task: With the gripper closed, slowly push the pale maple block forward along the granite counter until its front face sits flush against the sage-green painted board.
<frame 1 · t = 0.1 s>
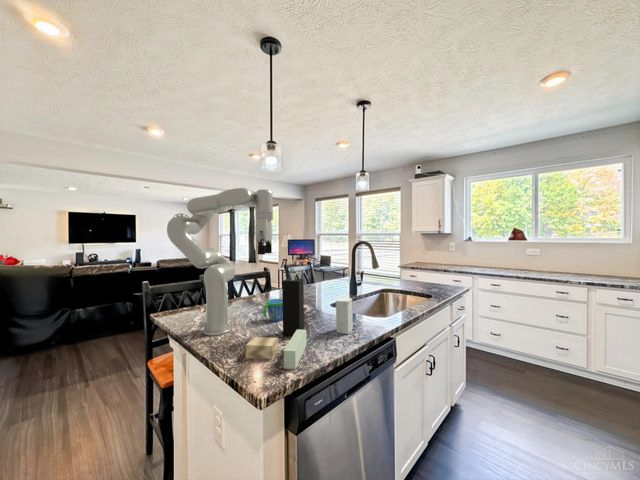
hand: (265, 253, 124), 37 cm above the worktop, tool pointing down, fingers open, 9 cm apart
tall black block: (293, 334, 122), on the worktop
skincare box: (344, 331, 125), on the worktop
snack cup: (276, 320, 144), on the worktop
maple block: (262, 354, 101), on the worktop
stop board: (296, 355, 100), on the worktop
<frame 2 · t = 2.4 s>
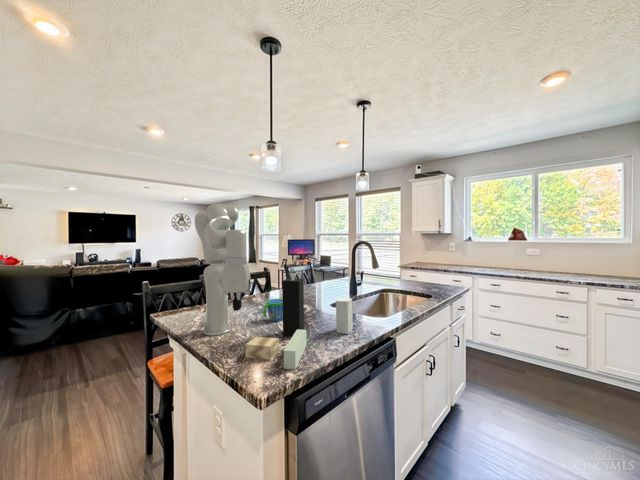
hand: (237, 309, 102), 17 cm above the worktop, tool pointing down, fingers closed
nothing on the worktop moved.
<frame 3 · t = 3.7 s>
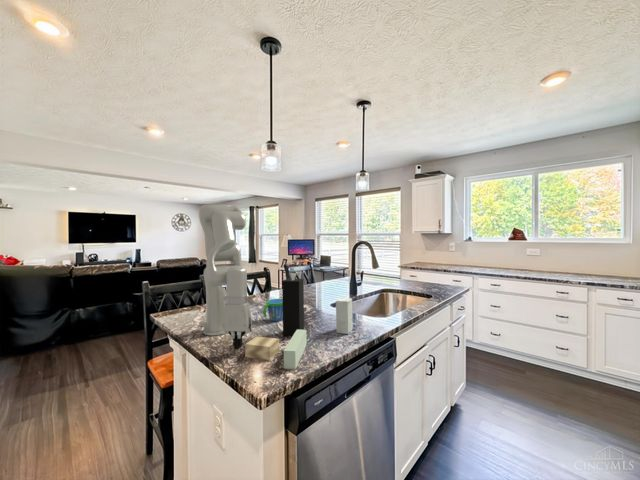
hand: (237, 347, 102), 2 cm above the worktop, tool pointing down, fingers closed
nothing on the worktop moved.
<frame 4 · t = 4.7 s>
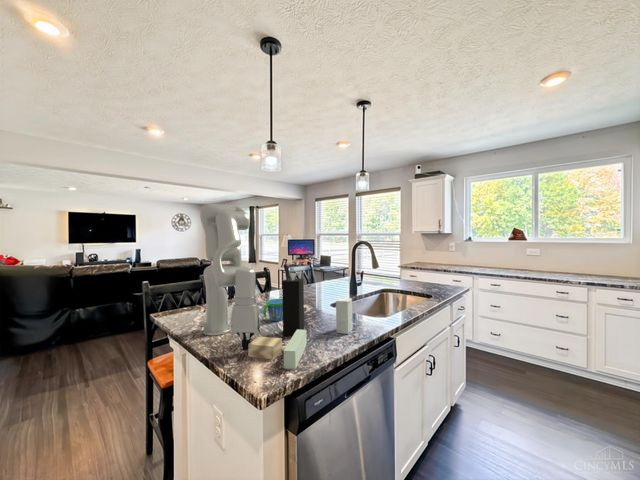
hand: (246, 348, 102), 2 cm above the worktop, tool pointing down, fingers closed
maple block: (265, 354, 102), on the worktop
everything else where it was.
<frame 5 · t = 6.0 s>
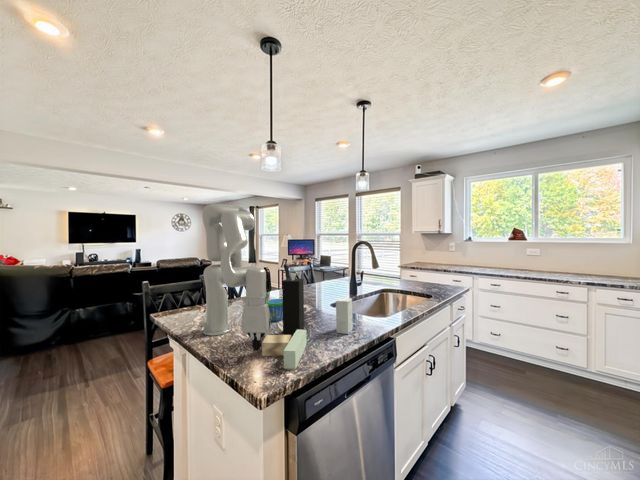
hand: (256, 349, 101), 2 cm above the worktop, tool pointing down, fingers closed
maple block: (277, 351, 104), on the worktop
everything else where it was.
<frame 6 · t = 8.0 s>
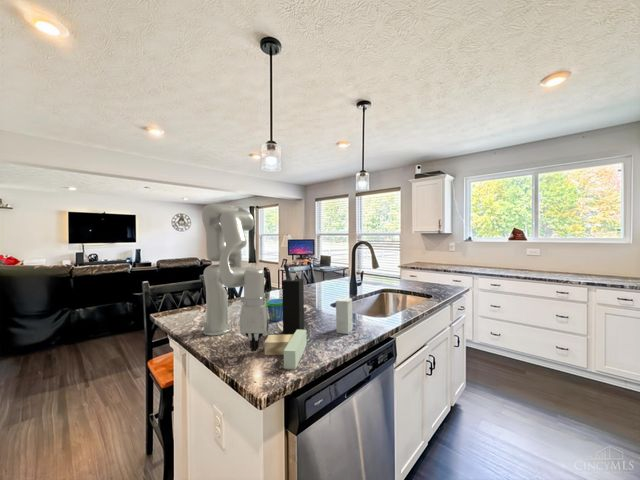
hand: (254, 349, 102), 1 cm above the worktop, tool pointing down, fingers closed
nothing on the worktop moved.
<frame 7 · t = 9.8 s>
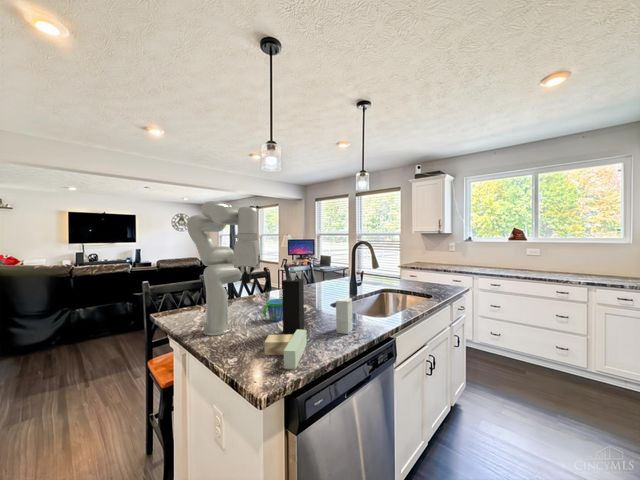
hand: (246, 283, 108), 26 cm above the worktop, tool pointing down, fingers closed
nothing on the worktop moved.
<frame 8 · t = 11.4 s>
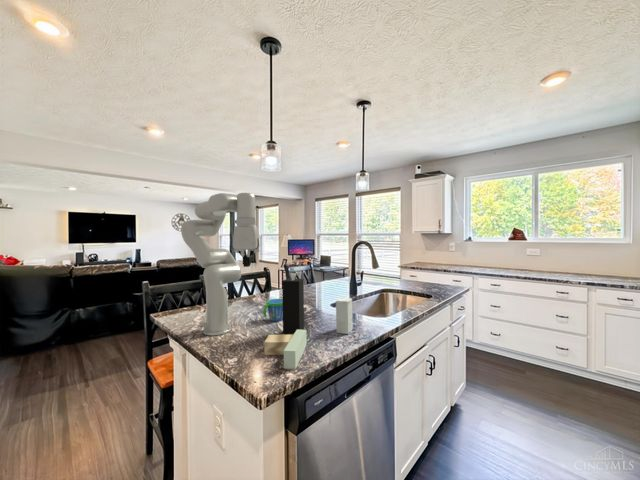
hand: (246, 266, 112), 32 cm above the worktop, tool pointing down, fingers closed
nothing on the worktop moved.
at the end: maple block inside the target area on the worktop beside the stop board (3.7 cm from its centre), on the worktop; maple block tilted 0° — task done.
